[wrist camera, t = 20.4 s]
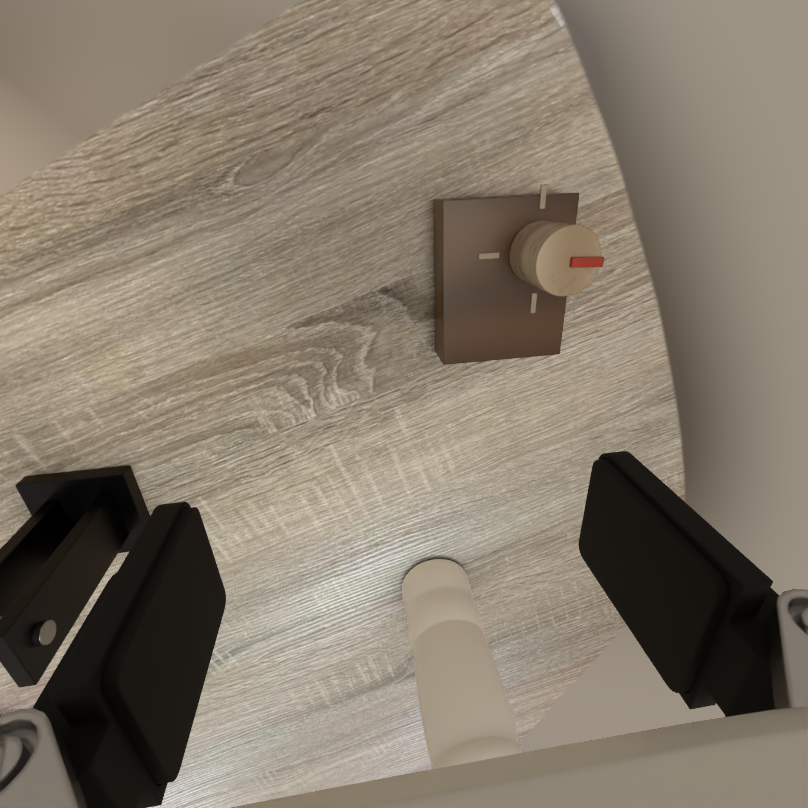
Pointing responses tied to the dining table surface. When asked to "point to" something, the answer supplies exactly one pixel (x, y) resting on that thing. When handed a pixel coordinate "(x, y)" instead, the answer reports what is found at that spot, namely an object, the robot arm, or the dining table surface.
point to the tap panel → (493, 279)
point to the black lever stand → (61, 559)
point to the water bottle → (455, 669)
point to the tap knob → (556, 256)
